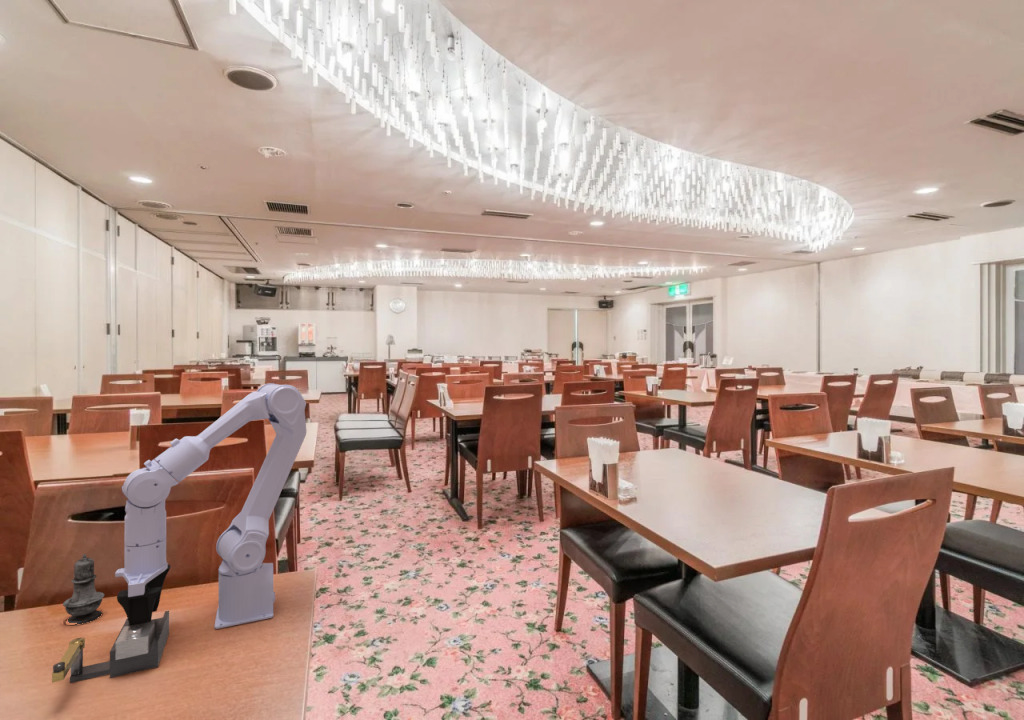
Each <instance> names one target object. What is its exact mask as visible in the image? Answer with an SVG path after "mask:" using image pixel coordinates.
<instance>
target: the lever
mask: <svg viewBox="0 0 1024 720" xmlns="http://www.w3.org/2000/svg"><path fill="white" fill-rule="evenodd" d="M85 646H86V638H85V637H77V638H73V639H72V640H70V641H69V642H68V648H67V649H66V651H65V652H64V653H63V656H62V657H61V658H60V660H59V661H58V662H57V663H54V665H52V666H53V667H52V673H51V683H55V682H60V681H61V682H62V681H64V680H65V678H66V677H67V675H68V673H69V671H71V666H72V664H73V663H74V661H75V659H76V657H77V656H78V654H79V652H80V650H82V649H83V650H84V648H85Z"/></svg>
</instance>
